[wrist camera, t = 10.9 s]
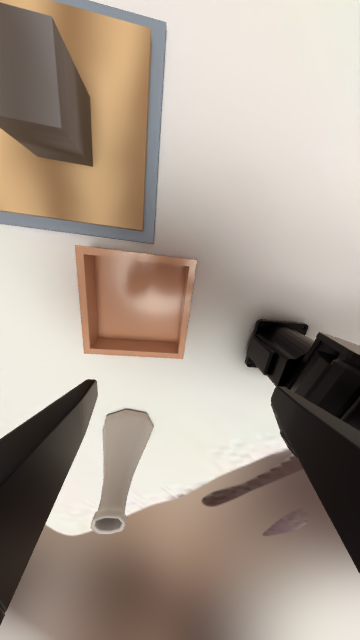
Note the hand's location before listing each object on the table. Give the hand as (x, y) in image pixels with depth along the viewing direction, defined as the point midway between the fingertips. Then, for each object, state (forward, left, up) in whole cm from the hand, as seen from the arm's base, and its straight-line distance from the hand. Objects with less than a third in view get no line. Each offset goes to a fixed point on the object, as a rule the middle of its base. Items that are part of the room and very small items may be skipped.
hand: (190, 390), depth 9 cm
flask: (+5, +18, -12) cm, 22 cm away
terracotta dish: (+4, -1, -12) cm, 13 cm away
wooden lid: (+10, -14, -12) cm, 21 cm away
